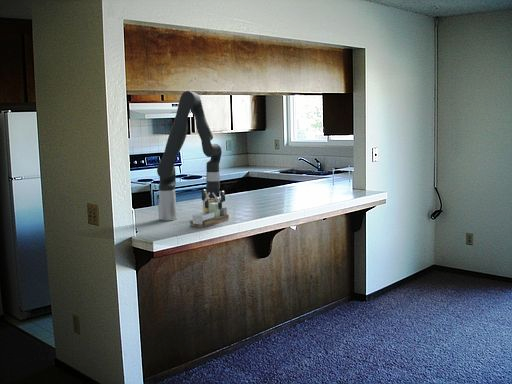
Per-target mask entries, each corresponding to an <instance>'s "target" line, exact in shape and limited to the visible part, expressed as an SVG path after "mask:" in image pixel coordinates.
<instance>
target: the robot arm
mask: <svg viewBox="0 0 512 384" xmlns="http://www.w3.org/2000/svg"><path fill="white" fill-rule="evenodd" d="M185 91H186V92H185ZM185 91H184V92H182V94H181V95H180V98H179V100H178V105H177V111H176V115H175V117H174V119H173V123H172V126H171V129H170V132H169V134H168V137H167V140H166V141H167V142H166V145H165V147H164V148H165V149H164V152H163V154H162V157H161V159H160V161H159V164H158V165H157V168H156V173H157V175H158V177H159V184H158V193H159V194H158V195H159V198H158V199H159V203H158V219H159V220H160V221H165V222H166V221H174V220H175V221H176V220H177V202H176V183H177V182H176V180H177V179H176V167H175V163H176V160H177V157H178V155H179V152H180V151H181V149H182V147H183V146H184V143H185V141H186V138H187V134H188V117H189V114H190V113H191V112H192V113H193V116H194V120H195V127H196V130H197V133H198V136H199V139H200V141H201V147H202V152H203V154H204V155H205V157H207V158H210V159H209V160H208V161H207V162H206V173H205V174H206V176H205V178H206V180H205V182H206V185H205V186H206V187H205V188H206V189H202V190H201V201H202V202H203V201H205V207H206V208H209V201H208V200H209V199H210V198H216V200H217V201H218V202H219V203H218V209H219V210H220V209H221V208H222V207H223V203H224V202H226V192H225V190H220V188H221V181H220V180H221V177H220V162H221V158H222V153H223V150H222V147H221V145H220V144H219V143H212V140H213V138H214V135H213V133H212V130H211V127H210V125H209V123H208V121H207V117H206V115H205V114H206V113H205V111H204V108H203V107H204V106H203V103H202V100H201V96H200V95H199V94H198V93H197V92H193V91H190V90H185ZM190 111H191V112H190ZM206 193H207V194H208V195H207V196H206Z"/></svg>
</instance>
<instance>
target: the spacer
mask: <svg viewBox="0 0 512 384" xmlns="http://www.w3.org/2000/svg"><path fill="white" fill-rule="evenodd" d="M209 212H214V213H215V218H217V217H220V210H219V209H218V203H210V204H209Z"/></svg>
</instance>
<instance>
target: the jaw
mask: <svg viewBox="0 0 512 384" xmlns="http://www.w3.org/2000/svg"><path fill="white" fill-rule="evenodd" d="M191 218H192V220H193V224H201V225H203V224H204V222H205V221H208V220H211V219H214V218H215V213H214V212H207V211H204V212H203V211H201V212H198V213H197V212H196V213H195V214H192V217H191Z"/></svg>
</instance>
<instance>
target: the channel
mask: <svg viewBox="0 0 512 384" xmlns="http://www.w3.org/2000/svg"><path fill="white" fill-rule="evenodd" d="M229 217H230V216H229V214H228V208H227V206H226V207H225V206H222V208H221V209H220V217H217V218H214V219H211V220H208V221H205V222H204V224H203V225H201V224H193V219H191V220H190V221H189V226H190V227H193V226H194V227H195V228H208V227H211V226H215V225H216V224H220V223H223V222H226V221H229V219H230V218H229Z"/></svg>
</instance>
